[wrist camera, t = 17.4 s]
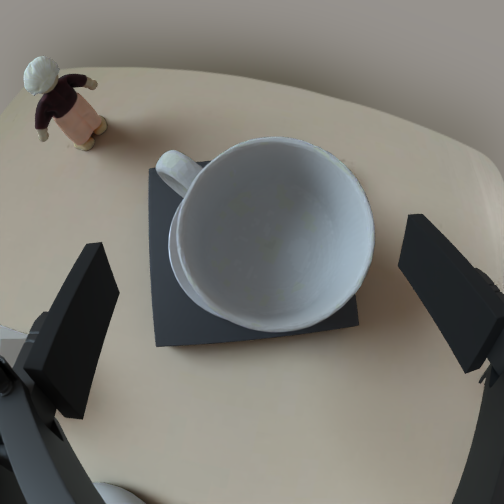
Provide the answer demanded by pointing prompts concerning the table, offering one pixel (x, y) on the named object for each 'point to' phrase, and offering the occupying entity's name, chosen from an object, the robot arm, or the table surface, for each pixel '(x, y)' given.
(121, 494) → the donut
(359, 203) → the teacup
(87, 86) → the grandmother figurine
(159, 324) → the scale
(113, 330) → the table surface
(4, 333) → the white cube
